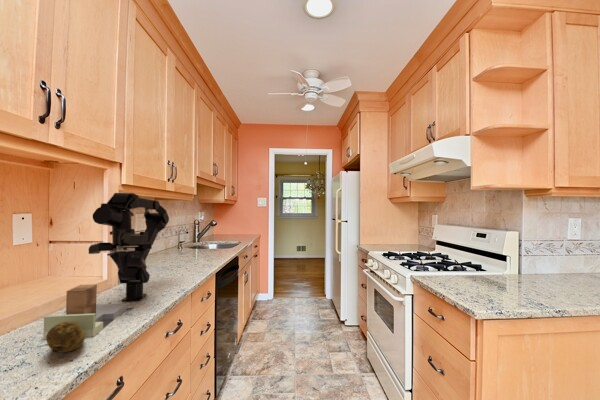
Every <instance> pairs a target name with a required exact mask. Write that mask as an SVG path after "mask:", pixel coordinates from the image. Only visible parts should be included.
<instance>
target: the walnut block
mask: <svg viewBox="0 0 600 400" xmlns="http://www.w3.org/2000/svg"><path fill="white" fill-rule="evenodd" d="M97 290H98V284H79V285H77V286H74V287H73V288H70V289H68V290H66V297H65V298H66V299H65V300H66V303H65V306H66V307H65V315H69V314H92V313H96V304H97V294H98V293H97V292H98V291H97Z"/></svg>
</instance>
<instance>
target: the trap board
mask: <svg viewBox="0 0 600 400" xmlns="http://www.w3.org/2000/svg"><path fill="white" fill-rule="evenodd" d="M127 309H128V303H127V302H126V303H101V304H98V303H96V313H92V314H69V315H66V314H53V315H52V314H51V315H50V314H47V315H45V316H43V340H45V341H46V336H47V333H48V332H49V330H50V329H51V328H52V327H54V326H55V325H57V324H59V323H62V322H74V323H77V324H79V326H80V327H81V328H82V329H83V330H84V333H85V338H93V337H95V336H96V335H97V334H98V333H100V332H101V331H103V330H104V329H105V328H106V327H107V326H108V325H110V324H111V323H112V322H113V321H114V320H115V319H116V317H117V318H118V317H119V316H121V314H123V313H124V312H125V311H127Z"/></svg>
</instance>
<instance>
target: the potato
mask: <svg viewBox="0 0 600 400" xmlns="http://www.w3.org/2000/svg"><path fill="white" fill-rule="evenodd" d="M85 339H86V337H85V333H84V330H83V329H82V328H81V327H80V326H79V324H77V323H74V322H62V323H59V324H57V325H55V326H54V327H52V328H51V329H50V330H49V332H48V333H47V336H46V339H45V341H46V343H47V346H48V347H49V349H51V352H52V353H53V354H56V353H59V352H60V353H67V352H71V351H74V350H76V349H78V348H79V347H81V346H82V345H83V343H84V341H85Z"/></svg>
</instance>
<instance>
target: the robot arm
mask: <svg viewBox="0 0 600 400" xmlns="http://www.w3.org/2000/svg"><path fill="white" fill-rule="evenodd" d="M134 209H144V213H143V216H144V219H145V226H146V228H145V231H140V232H139V233H136V230H135V228H132V217H134V216H135V215H134V212H132V211H131V210H134ZM150 210H155V211H156V212H150ZM92 220H93V222H95V223H96V224H97V225H101V226H102V225H103V226H108V227H111V228H112V229H111V231H109V236H112V237H111V239H112V242H98V243H94V244H91V245H90V246H89V247H88V255H95V254H100V253H101V252H109V253H107V254H106V256H107V257H108V256H109V257H110V258H111V259H112V261H113V262H114V263H115V265H116V266H117V268H118V272H117V277H118V280H119V283H120V284H125V297H124V298H122V299H121V302H132V301H135V302H137V301H138V302H139V301H141V300H143V299H144V298H145V297H146V296H147V295H148V294H147V293H144V284H146V283H148V282H149V281H150V274H149V272H148V271H147V264H146V263H147V262H146V259H147V258H148V255H149V253H150V251H151V250H152V249H153V245H154V243H155V240H156V239H157V236H158V234H159V233H160V232H161V231H163V230H164V229H165V228H166V226H167V225H168V223H169V221H170V217H169V214H168V212H167V210H166V209H165V207H163V206H162V205H161V204H160V202H159V201H158V200H156V199H147V198H141V197H140V196H139V195H138V194H137V193H134V192H115V193H113V195H112V196H111V197H110V198H109V199H108V201H107V202H106V203H101V204H100V207H98V208H96V209H95V210H94V212H93V213H92Z"/></svg>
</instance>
